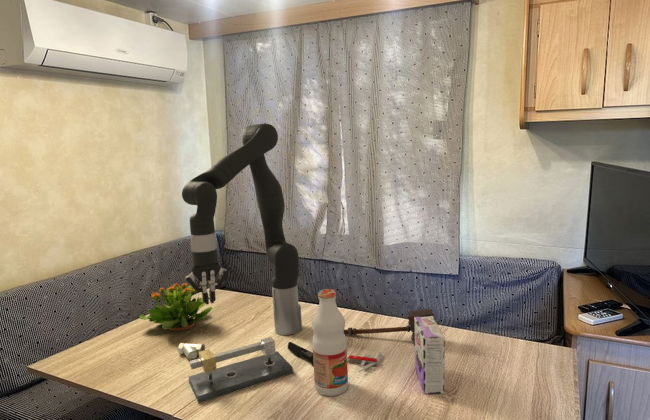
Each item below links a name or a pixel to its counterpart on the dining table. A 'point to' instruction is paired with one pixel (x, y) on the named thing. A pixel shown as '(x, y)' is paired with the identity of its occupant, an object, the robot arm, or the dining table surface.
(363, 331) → the hammer
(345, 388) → the fruit juice
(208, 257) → the robot arm
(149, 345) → the dining table surface
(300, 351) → the electric trimmer
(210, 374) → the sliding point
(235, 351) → the steel beam
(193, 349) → the pipe fitting
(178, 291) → the potted flower
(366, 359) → the swiss army knife
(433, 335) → the candy box
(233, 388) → the bolt hole plate
